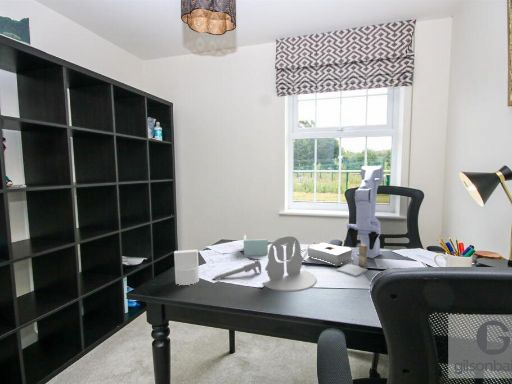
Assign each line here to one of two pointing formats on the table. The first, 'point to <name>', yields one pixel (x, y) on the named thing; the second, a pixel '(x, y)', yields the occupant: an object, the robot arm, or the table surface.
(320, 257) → the guard box
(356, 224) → the robot arm
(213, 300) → the table surface
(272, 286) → the ornament
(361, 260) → the long tan rectangular block
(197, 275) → the white rounded upright block
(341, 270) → the pad
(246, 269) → the caliper
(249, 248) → the l-shaped corner panel
